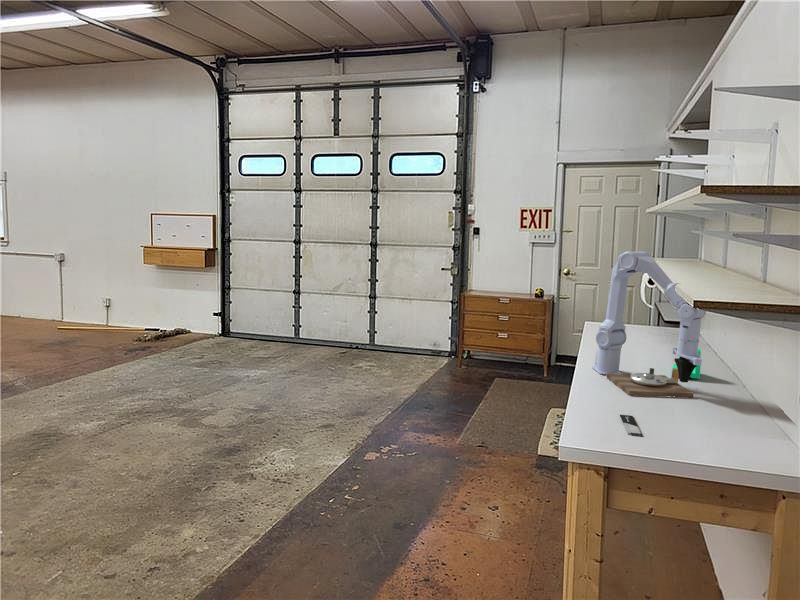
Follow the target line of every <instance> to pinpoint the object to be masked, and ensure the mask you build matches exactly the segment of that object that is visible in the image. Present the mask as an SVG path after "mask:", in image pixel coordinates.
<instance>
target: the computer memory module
mask: <svg viewBox="0 0 800 600" xmlns="http://www.w3.org/2000/svg"><path fill="white" fill-rule="evenodd" d="M619 417H620V419H621V421H622V423H623V426H625V427H624V428H625V432H626V433H627V435H628V436H632V437H640V438H644V437H645V436H644V434H643V432H642V430H641V428H640V426H639V424H638V422H637V420H636V417H634V416H633V415H630V414H619Z"/></svg>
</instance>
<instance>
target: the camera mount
mask: <svg viewBox="0 0 800 600" xmlns="http://www.w3.org/2000/svg"><path fill="white" fill-rule="evenodd" d="M697 353H699V354H702V350H701V348H698V351H697ZM701 356H702V355H701ZM701 356H700V357H699V358H700V359H702V357H701ZM673 368H676V369H678V368H677V365H676V363H673V364H672V369H673ZM690 378H691V379H700V378H701V365H697V366H696V367H695V369H694V370H693V372H692V374H691V376H690ZM690 378H689V379H690Z"/></svg>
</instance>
